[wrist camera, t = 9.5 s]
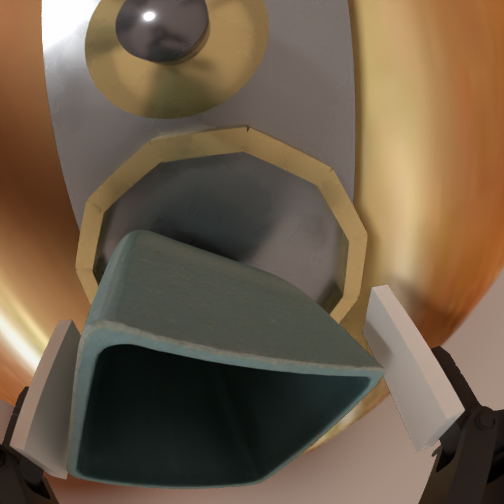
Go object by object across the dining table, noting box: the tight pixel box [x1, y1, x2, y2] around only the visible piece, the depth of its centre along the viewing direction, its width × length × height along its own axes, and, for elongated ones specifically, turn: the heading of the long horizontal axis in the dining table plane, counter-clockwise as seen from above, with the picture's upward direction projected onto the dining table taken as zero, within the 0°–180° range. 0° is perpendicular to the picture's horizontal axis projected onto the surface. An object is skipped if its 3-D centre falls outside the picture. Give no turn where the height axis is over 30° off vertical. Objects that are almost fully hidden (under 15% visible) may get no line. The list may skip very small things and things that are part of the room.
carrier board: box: [42, 0, 368, 325], centre depth 11 cm, size 15×25×8 cm, turn 5°
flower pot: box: [66, 230, 385, 489], centre depth 11 cm, size 9×9×9 cm
